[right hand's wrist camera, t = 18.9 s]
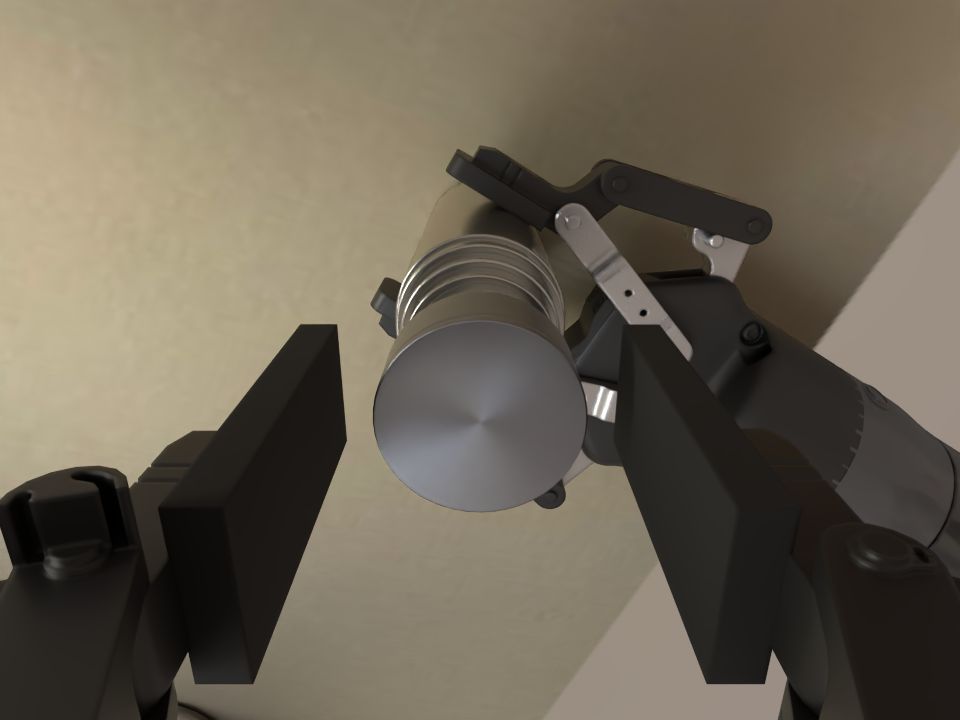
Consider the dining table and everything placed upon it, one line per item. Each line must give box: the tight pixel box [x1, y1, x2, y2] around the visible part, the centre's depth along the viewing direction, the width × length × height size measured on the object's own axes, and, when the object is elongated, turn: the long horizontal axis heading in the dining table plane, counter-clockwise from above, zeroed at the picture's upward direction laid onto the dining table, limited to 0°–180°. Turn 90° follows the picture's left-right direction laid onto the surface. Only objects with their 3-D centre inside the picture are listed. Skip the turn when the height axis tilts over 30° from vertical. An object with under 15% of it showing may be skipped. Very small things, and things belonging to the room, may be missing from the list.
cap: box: [373, 292, 588, 512], centre depth 13 cm, size 4×4×2 cm
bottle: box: [395, 183, 565, 337], centre depth 21 cm, size 5×5×18 cm
